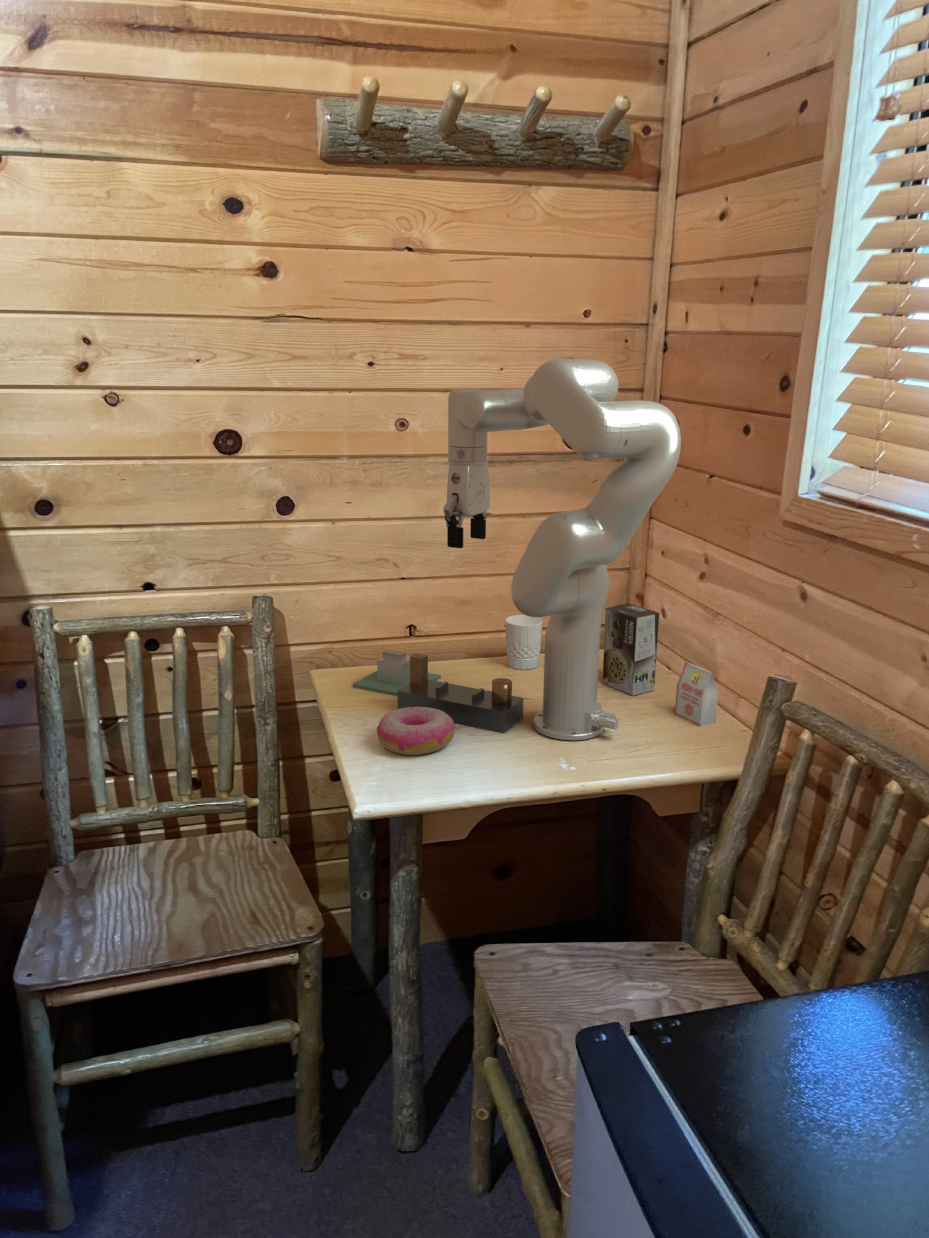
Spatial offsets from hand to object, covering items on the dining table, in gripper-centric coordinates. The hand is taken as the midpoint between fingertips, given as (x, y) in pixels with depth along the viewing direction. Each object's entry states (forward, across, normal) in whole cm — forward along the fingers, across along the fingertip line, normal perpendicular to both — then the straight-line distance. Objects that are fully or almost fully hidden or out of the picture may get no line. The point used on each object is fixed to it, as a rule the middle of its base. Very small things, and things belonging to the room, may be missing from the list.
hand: (466, 542), depth 182 cm
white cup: (+28, +13, -7) cm, 32 cm away
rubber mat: (+28, -9, +11) cm, 32 cm away
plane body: (+28, -18, -8) cm, 34 cm away
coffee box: (+28, +11, -31) cm, 44 cm away
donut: (+29, -33, -7) cm, 44 cm away
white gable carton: (+29, +1, -47) cm, 55 cm away
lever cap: (+28, -9, +11) cm, 31 cm away
